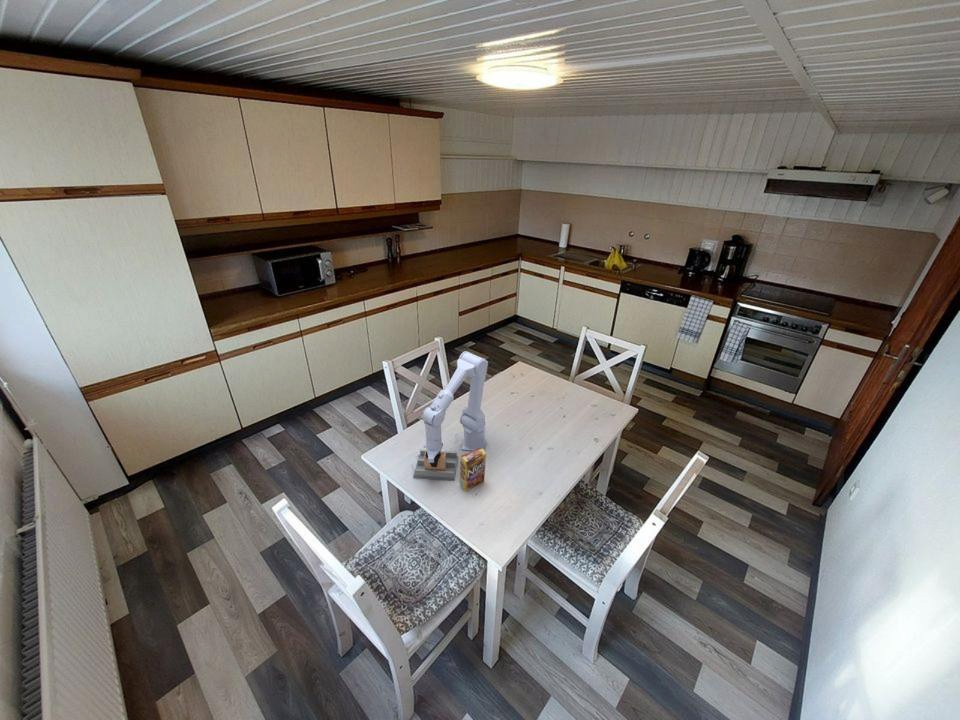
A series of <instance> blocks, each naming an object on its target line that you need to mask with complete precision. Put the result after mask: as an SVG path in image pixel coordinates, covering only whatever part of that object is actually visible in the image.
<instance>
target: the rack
mask: <svg viewBox="0 0 960 720" xmlns="http://www.w3.org/2000/svg"><path fill="white" fill-rule="evenodd" d="M425 452H427V449H420V451H419V454H418V458H417V463H416V466H415V468H414V472H413V474H412V475H413V476H412V477H413V479H414V478H415V479H428V480H442V481H455V479H456V474H457V468H458V462H459V456H458V452H457V451H448V450H446V451H445V450H441V451H440V453H446V467H447V468H446V471H438V470H425V465H424V455H425Z"/></svg>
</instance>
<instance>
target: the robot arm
mask: <svg viewBox="0 0 960 720" xmlns="http://www.w3.org/2000/svg"><path fill="white" fill-rule="evenodd" d="M488 365H489V361H488V360H487V359H486V358H483V357H480V356H479V355H478V356H477V355H475V354H474V353H471V352H470V351H467V350H466V351H463V352H462V353H460V355H459V357H458V359H457V360H456V366H457V368H456V370H455V371H454V373H453V375H452V376H451V378H450V380H449V382H448V383H447V385H446V386H445V388H444V389H441V390H439V392H438V393H437V395H436V397H435V398H434V399H433V401H432V403H431V404H430V405H429V406H427V407H425V408H424V409H423V411H422V413H421V416H420V418H421V420H422V421H423V424H424V426H425V442H424V443H423V448H424V449H425V450H427V452H426V454H425V456H426V458H427V459H428V462H430V465H431V467H437V464H438V460H439V458H440V456H441V454H438V453H440V451H442V449H443V446H444V443H443V442H442V424H443V422H444V420H445V416H446V414H447V410H448V408H449V407H450V405H451V404H452V403H453V401H454V400H455V399H454V394H455V393H456V392H457V390H458V389H459V387H460V386H461V385H462V383H463V382H465V379H467V378H470V386H469V394H468V401H467V406H466V407H464V408H463V409H462V411H461V415H460V417H459V423H460V424H461V425H462V428H463V440H462V447H461V450H463V451H472V450H475V449H477V448H479V447H481V448H482V449H483V450H484V451H485V448H486V444H487V440H486V415H485V413H484V412H483V410H482V408H481V407H482V400H483V395H484V389H485V387H484V386H485V380H486V376H487V372H488Z"/></svg>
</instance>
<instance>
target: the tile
mask: <svg viewBox="0 0 960 720" xmlns="http://www.w3.org/2000/svg"><path fill="white" fill-rule="evenodd" d="M425 454H426V452H425ZM438 454H441V456H440V458H439V460H438V464H437V467H431V465H430V462H428V459H427V458H426V456H425V455H424V465H425V470H438V471H446V468H447V467H446V453H438Z"/></svg>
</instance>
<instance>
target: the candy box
mask: <svg viewBox="0 0 960 720" xmlns="http://www.w3.org/2000/svg"><path fill="white" fill-rule="evenodd" d="M486 458H487V453H486V451H485V449H484V450H483V449H482V448H481V447H479V448H477V449H475V450H469V451H468V452H466V453H464V454H460V458H459V459H460V460H459V461H460V467H459V486H460V487H461V488H462V489H463V491H464V492H467V491H469V490H471V489H472V488H474V487H476V486H478V485H481V484H483V483H485V477H486V476H485V475H486V460H487V459H486Z"/></svg>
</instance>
